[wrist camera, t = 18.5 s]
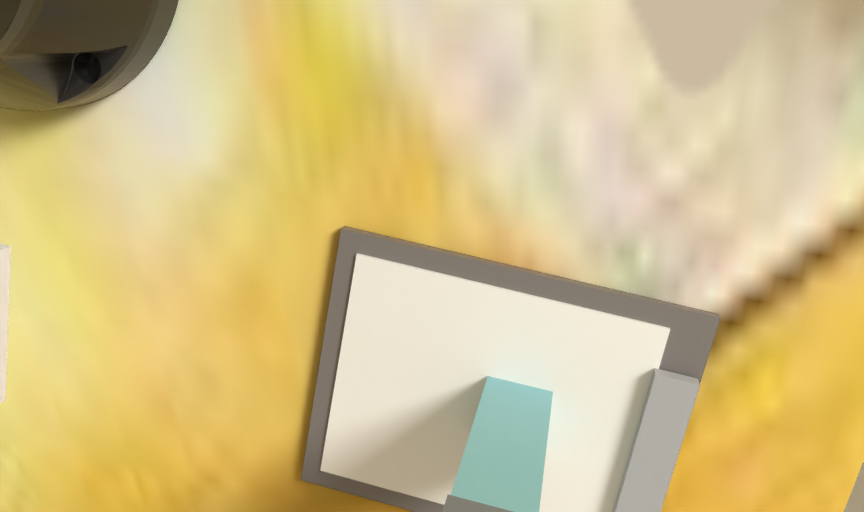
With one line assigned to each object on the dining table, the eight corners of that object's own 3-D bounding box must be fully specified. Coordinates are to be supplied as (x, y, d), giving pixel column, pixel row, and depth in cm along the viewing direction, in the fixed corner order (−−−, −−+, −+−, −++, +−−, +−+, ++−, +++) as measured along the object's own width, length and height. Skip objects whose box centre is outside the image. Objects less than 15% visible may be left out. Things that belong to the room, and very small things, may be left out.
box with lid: (472, 435, 41) (420, 609, 29) (486, 373, 40) (437, 526, 28) (540, 452, 41) (516, 636, 28) (555, 390, 40) (537, 553, 27)
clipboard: (304, 474, 44) (294, 490, 43) (344, 226, 40) (334, 233, 39) (639, 567, 42) (641, 587, 41) (718, 314, 38) (723, 325, 36)
